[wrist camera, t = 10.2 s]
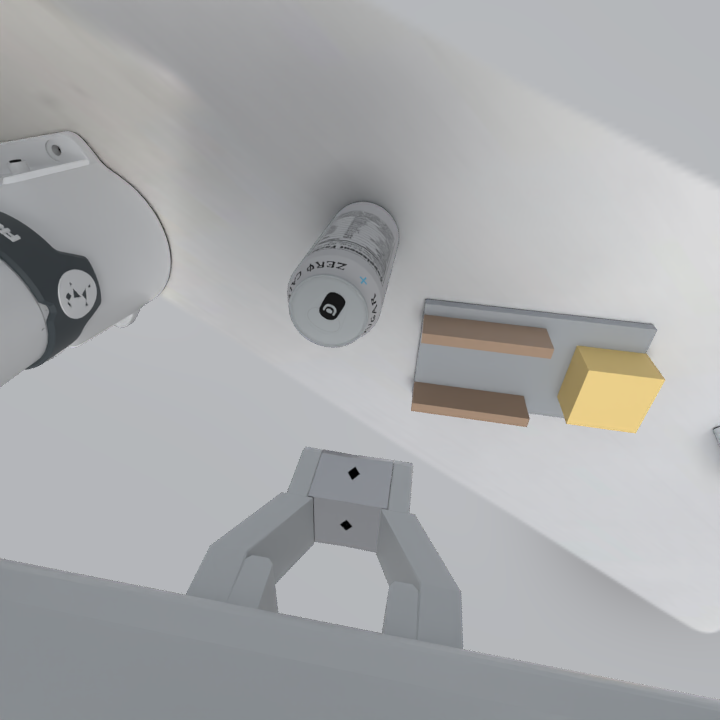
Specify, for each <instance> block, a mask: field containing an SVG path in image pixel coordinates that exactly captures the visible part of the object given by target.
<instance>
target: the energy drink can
mask: <svg viewBox="0 0 720 720" xmlns="http://www.w3.org/2000/svg"><path fill="white" fill-rule="evenodd" d="M398 244H399V233H398V228H397V225H396V223H395V221H394V219H393V218H392V216H391V215H390V214H389V213H388V212H387V211H386V210H385V209H383V208H382V207H380V206H378V205H376V204H373V203H369V202H357V203H353V204H350V205H347V206H346V207H344V208H343V209H341V210H340V211H339V212H338V213H337V215H336V216H335V217H334V219H333V220H332V221H331V223H330V224H329V225H328V227H327V228H326V229H325V231H324V232H323V233H322V235H321V236H320V237H319V239H318V240H317V241H316V243H315V244H314V245H313V247H312V248H311V249H310V251H309V252H308V253H307V255H306V256H305V257H304V259H303V260H302V261H301V263H300V264H299V265H298V267H297V268H296V270H295V271H294V273H293V274H292V276H291V278H290V281H289V284H288V291H287V294H288V302H289V314H290V317H291V320H292V322H293V324H294V326H295V327H296V329H297V330H298V331H299V333H300V334H301V335H303V336H304V337H305V338H306V339H308V340H309V341H311V342H313V343H315V344H317V345H320V346H324V347H331V348H334V347H342V346H346V345H349V344H351V343H353V342H354V341H356V340H357V339H358V338H359V337H362V336H363V335H365V334H366V333H368V332H369V331H370V330H371V329H372V328H373V327H374V325H375V324H376V322H377V320H378V318H379V316H380V312H381V309H382V305H383V301H384V297H385V294H386V290H387V286H388V282H389V278H390V275H391V271H392V267H393V263H394V259H395V256H396V252H397V248H398Z"/></svg>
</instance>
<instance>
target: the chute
mask: <svg viewBox="0 0 720 720" xmlns="http://www.w3.org/2000/svg"><path fill="white" fill-rule="evenodd" d="M656 332H657V329H656V328H655V327H654V325H653V324H644V323H635V322H626V321H618V320H609V319H600V318H591V317H582V316H573V315H564V314H555V313H546V312H537V311H528V310H519V309H510V308H501V307H493V306H484V305H475V304H466V303H457V302H448V301H439V300H430V299H426V302H425V309H424V316H423V323H422V330H421V337H420V344H419V351H418V357H417V364H416V371H415V378H414V385H413V392H412V406H411V411H416V412H424V413H431V414H438V415H445V416H452V417H459V418H466V419H474V420H481V421H488V422H495V423H502V424H509V425H516V426H523V427H527V425H528V422H529V415H528V413H530V414H538V415H545V416H552V417H560V418H564V415H563V412H562V409H561V407H560V404H559V401H558V398H557V396H558V393H559V390H560V388H561V385H562V383H563V380H564V377H565V375H566V372H567V370H568V367H569V365H570V362H571V359H572V357H573V354H574V352H575V349H576V347H577V345H578V346H586V347H594V348H603V349H611V350H620V351H628V352H636V353H645V354H646V352H647V350H648V348H649V346H650V344H651V342H652V340H653V338H654V336H655V334H656Z"/></svg>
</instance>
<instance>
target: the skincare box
mask: <svg viewBox="0 0 720 720" xmlns="http://www.w3.org/2000/svg"><path fill="white" fill-rule="evenodd" d="M713 431H714V434H715V436H716V438H717V441H718V443H719V445H720V427H718V428H715V429H714V430H713Z"/></svg>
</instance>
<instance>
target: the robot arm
mask: <svg viewBox="0 0 720 720" xmlns="http://www.w3.org/2000/svg"><path fill="white" fill-rule="evenodd" d="M58 147H59V148H60V149H61V153H60V151H59V150H58ZM170 265H171V260H170V251H169V246H168V242H167V239H166V236H165V233H164V230H163V228H162V226H161V224H160V222H159V220H158V218H157V217H156V215H155V213H154V212H153V210H152V209H151V207H150V206H149V205H148V203H147V202H146V201H145V200H144V198H143V197H142V196H141V195H140V194H139V193H138V192H137V191H136V190H135V189H134V188H133V187H132V186H131V185H130V184H128V183H127V182H126V181H125V180H123V179H122V178H121V177H119V176H118V175H117V174H115V173H114V172H112V171H111V170H110V169H108V168H107V167H106V166H105V165H104V164H103V163H101V161H100V160H99V159H98V157H97V156H96V155H95V154H94V152H93V151H92V150H91V149H90V147H89V146H88V145H87V144H86V143H85V141H84V140H83V139H82V138H81V137H79V136H78V135H77V134H75V133H73V132H70V131H64V132H58V133H53V134H47V135H41V136H36V137H30V138H24V139H19V140H13V141H7V142H2V143H0V387H2V386H3V385H4V384H6V383H7V382H8V381H10V380H11V379H12V378H14V377H15V376H16V375H18V374H19V373H20V372H22V371H23V370H25V369H31V368H35V367H37V366H39V365H41V364H43V363H44V362H46V361H48V360H50V359H53V358H54V357H56V356H57V355H59V354H60V353H62V352H63V351H64V349H65V348H66V347H70V348H75V347H78V346H81V345H82V344H84V343H86V342H87V341H89V340H91V339H93V338H94V337H96V336H98V335H99V334H101V333H103V332H104V331H106V330H107V329H109V328H111V327H112V326H116V327H121V328H124V327H126V326H128V325H130V324H132V323H133V322H134V321H135V319H136V317H137V315H138V313H139V311H140V308H142V307H143V306H144V305H145V304H147V303H148V302H150V301H152V300H153V299H155V298H156V297H157V296H158V295H159V294H160V293H161V292H162V290H163V289H164V287H165V285H166V283H167V281H168V278H169V274H170ZM393 462H394V464H393ZM392 471H393V472H392ZM412 473H413V464H412V463H409V462H402V461H394V460H388V459H381V458H374V457H367V456H360V455H358V456H357V455H351V454H346V453H341V452H335V451H329V450H322V449H317V448H311V447H305V448H304V450H303V451H302V454H301V457H300V459H299V462H298V465H297V467H296V470H295V473H294V475H293V478H292V481H291V484H290V486H289V488H288V491H287V493H283V492H282V493H280V494H279V495H277V496H276V497H275V498H273V499H272V500H271V501H270V502H268V503H267V504H265V505H264V506H263V507H261V508H260V509H259V510H257V511H256V512H255V513H253V514H252V515H251V516H249V517H248V518H246V519H245V520H244V521H243V522H241V523H240V524H239V525H237V526H236V527H235V528H233V529H232V530H230V531H229V532H228V533H226V534H225V535H224V536H222V537H221V538H220V539H218V540H217V541H216V542H214V543H213V544H212V545H210V547H209V549H208V551H207V553H206V555H205V557H204V559H203V561H202V563H201V565H200V567H199V569H198V571H197V573H196V575H195V577H194V579H193V581H192V583H191V585H190V587H189V589H188V591H187V593H186V595H184V594H179V593H174V592H169V591H164V590H159V589H154V588H148V587H143V586H138V585H133V584H128V583H123V582H118V581H113V580H108V579H103V578H97V577H93V576H87V575H82V574H77V573H71V572H67V571H62V570H57V569H52V568H47V567H41V566H36V565H32V564H27V563H22V562H16V561H11V560H6V559H1V558H0V720H720V700H719V699H713V698H709V697H704V696H699V695H694V694H689V693H684V692H679V691H673V690H668V689H663V688H658V687H653V686H648V685H643V684H638V683H633V682H627V681H623V680H617V679H612V678H607V677H602V676H597V675H591V674H587V673H581V672H577V671H572V670H566V669H561V668H556V667H551V666H546V665H541V664H535V663H531V662H525V661H521V660H515V659H510V658H505V657H500V656H495V655H490V654H485V653H480V652H475V651H470V650H465V649H463V634H462V602H461V591H460V589H459V588H458V586H457V584H456V583H455V581H454V579H453V578H452V576H451V574H450V573H449V571H448V569H447V567H446V566H445V564H444V562H443V561H442V559H441V557H440V556H439V554H438V552H437V551H436V549H435V547H434V546H433V544H432V542H431V541H430V539H429V538H428V536H427V534H426V532H425V531H424V529H423V527H422V526H421V524H420V522H419V521H418V519H417V517H416V516H415V514H410V513H409V511H410V498H411V485H412ZM314 542H320V543H327V544H333V545H340V546H346V547H351V548H356V549H361V550H366V551H371V552H376V555H377V557H378V559H379V562H380V564H381V567H382V569H383V572H384V575H385V577H386V579H387V582H388V584H389V591H388V597H387V604H386V610H385V616H384V623H383V629H382V633H378V632H373V631H368V630H363V629H358V628H353V627H348V626H343V625H338V624H332V623H327V622H321V621H317V620H312V619H307V618H302V617H297V616H291V615H286V614H280V613H278V606H277V597H276V589H275V584H276V583H277V582H278V581H279V580H280V579H281V578H282V576H284V575H285V574H286V572H287V571H288V570H289V569H290V568H291V567H292V566H293V565H294V564H295V563H296V562H297V561H298V560H299V559H300V558H301V557H302V556H303V555H304V554H305V553H306V551H307V550H308V549H309V548H310V547H311V546H312V545H313V544H314Z"/></svg>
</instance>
